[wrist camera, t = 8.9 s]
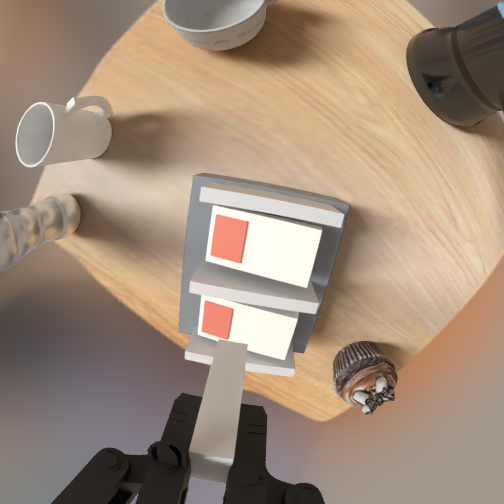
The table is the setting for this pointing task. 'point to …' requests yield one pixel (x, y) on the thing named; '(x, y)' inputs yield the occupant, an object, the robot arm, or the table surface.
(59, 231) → the plastic bottle
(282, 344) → the block
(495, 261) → the table surface
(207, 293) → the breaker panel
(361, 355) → the cupcake
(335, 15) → the table surface
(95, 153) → the mug
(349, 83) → the table surface
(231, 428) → the robot arm
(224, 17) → the teacup
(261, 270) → the breaker
